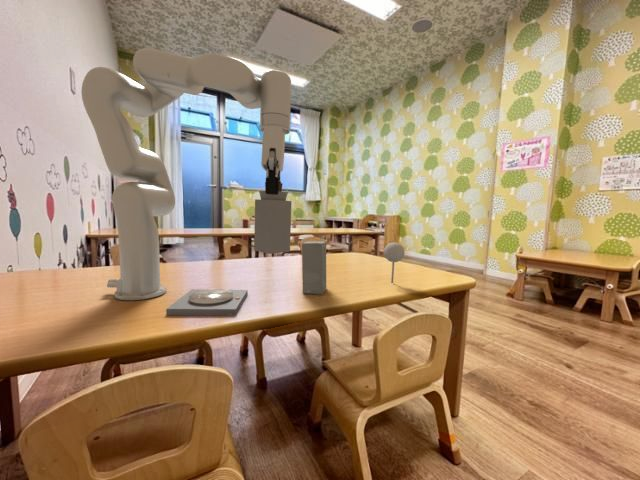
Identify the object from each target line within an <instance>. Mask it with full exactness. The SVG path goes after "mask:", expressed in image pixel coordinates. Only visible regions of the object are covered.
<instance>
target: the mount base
mask: <svg viewBox="0 0 640 480" xmlns="http://www.w3.org/2000/svg"><path fill="white" fill-rule="evenodd" d="M247 296H248V289H225V288H224V289H223V288H207V289H198V288H197V289H196V288H194V289H190V290H189V291H188V292H186V293H185V294H184V295H182V296H181V297H180V298H178V299H177V300H176V301H174V302H173V303H172V304H171V305H169V306H168V307H166V309H165V310H166V311H165V314H166V315H165V316H237V314H238V312H239V310H240V309H241V307H242V305H243V303H244V302H245V300H246V298H247Z"/></svg>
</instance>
